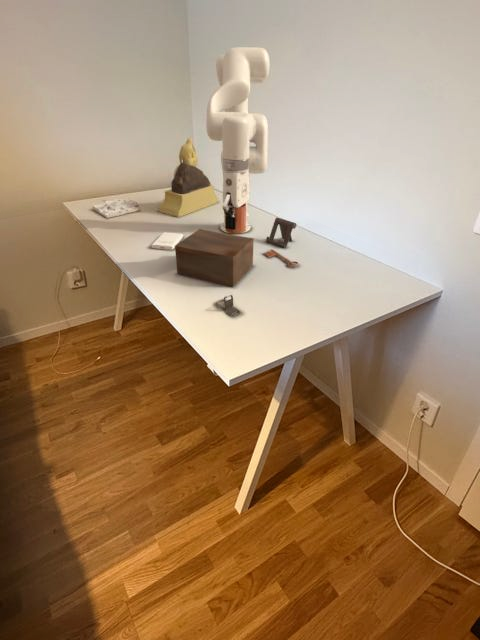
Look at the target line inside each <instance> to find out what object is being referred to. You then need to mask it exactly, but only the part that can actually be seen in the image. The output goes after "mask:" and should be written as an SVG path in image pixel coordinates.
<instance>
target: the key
mask: <svg viewBox="0 0 480 640" xmlns="http://www.w3.org/2000/svg"><path fill="white" fill-rule="evenodd" d="M263 255H264V256H266V257H267V258H272V257H275V256H278V257H279V258H281V259H282V260H283V261H285V262H287V266H288V267H289V268H295V267H298V266H299V262H298V261H291V260H290V259H288V258H287V257H285V256H283V255H282V254H280V253H279V252H277V251H275V250H274V249H270V250H269V251H266V252H263Z"/></svg>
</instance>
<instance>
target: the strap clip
mask: <svg viewBox="0 0 480 640" xmlns="http://www.w3.org/2000/svg"><path fill="white" fill-rule="evenodd" d="M229 297H230V298H229ZM227 298H229V299H227ZM215 302H216V305H217V306H218V307H219V308H220V309H222V310H225V312H226V313H227V314H228V315H229V316H232V317H236V316H238V315H240V314H241V310H239V309H238V308H236V307H234V296H233V294H229V295H226V296H224V297H223V298H222V299H219V300H217V301H215Z"/></svg>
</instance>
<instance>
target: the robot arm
mask: <svg viewBox="0 0 480 640" xmlns="http://www.w3.org/2000/svg"><path fill="white" fill-rule="evenodd" d="M270 64H271V63H270V55H269V53H268V51H267V50H266V49H265V48H263V47H258V46H257V47H256V46H235V47H230V48H229V49H227V50H226V51H225V53H224V54H221V55H219V56H218V57H217V59H216V61H215V68H216V77H217V81H218V83H219V87H218V88H217V89H216V90H215V91H214V92H213V93H212V95H211V96H210V98H209V100H208V102H207V106H206V123H205V125H206V133H207V136H208V138H209V139H210V140H212V141H215V142H222V151H221V153H220V163H221V169H222V207H221V208H222V210H223V222H222V223H221V224H220V230H221V231H222V232H223V233H226V234H230V233H229V232H226V231H225V228H226V229H232V230H235V229H236V217H235V210H236V208H239V207H241V206H242V205H243V204H245V203H246V231H245V232H243V233H242V234H244V233H247V232H249V231H251V227H252V226H251V224H250V223H248V218H250V214H249V213H248V202H249V201H250V199H251V198H250V197H251V196H250V195H251V193H250V189H251V188H250V187H251V186H250V174H253V175H254V174H257V175H258V174H264V173H265V172H266V171H267V168H268V156H269V155H268V154H269V153H268V149H269V125H268V124H269V123H268V118H267V117H266V116H265V114H262V113H250V112H249V110H248V109H249V96H250V95H251V94H250V93H251V84H263V83H265V82H266V80H267V79H268V77H269V73H270V67H271V65H270ZM250 143H253V144H254V145H255V146H254V145H253V146H252V145H250ZM229 204H233V206H230V205H229ZM229 208H233V209H232V211H231V210H230V209H229ZM237 234H240V233H237ZM237 234H235V233H232V235H237Z"/></svg>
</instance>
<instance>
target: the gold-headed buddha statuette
mask: <svg viewBox="0 0 480 640" xmlns="http://www.w3.org/2000/svg"><path fill="white" fill-rule="evenodd" d="M193 143H194V140H193V138H192V137H188V138H187V139H186V142H185V143H184V144H183V145H181V147H180V150H179V152H178V153H179V154H178V160H179V164H178V165H177V166H176V168H175V169H174V172H173V179H172V181H171V182H170V183H171V189H168V190H165V191H164V198H163V200H162V202H161V203H160V204H159V206H157V212H159V213H162V214H166V215H170V216H173V217H177V218H180V217H183V216H186V215H187V214H190V213H193V212H196V211H199V210H202V209H203V208H206V207H209V206H212V205H214V204H217V203H219V197H218V196H217V195H216V193H215V189H214V184H211V181H210V180H209V177H208V176H207V175H206V174H204V171H203V170H202V169H199V168H198V166H199V165H198V163H199V162H198V161H199V156H198V154H197V151H196V147H195V145H194V144H193Z"/></svg>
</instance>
